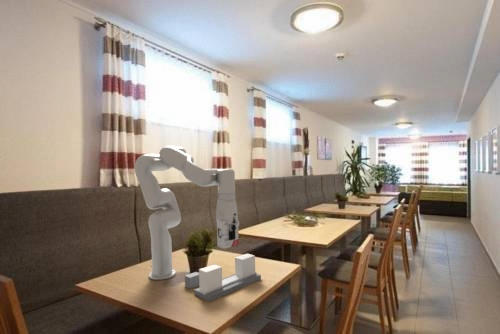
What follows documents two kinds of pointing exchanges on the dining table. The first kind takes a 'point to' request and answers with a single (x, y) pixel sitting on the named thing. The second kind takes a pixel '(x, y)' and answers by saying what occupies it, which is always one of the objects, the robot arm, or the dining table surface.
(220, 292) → the rail panel
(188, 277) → the block
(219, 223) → the ink box
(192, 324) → the dining table surface
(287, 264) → the dining table surface
